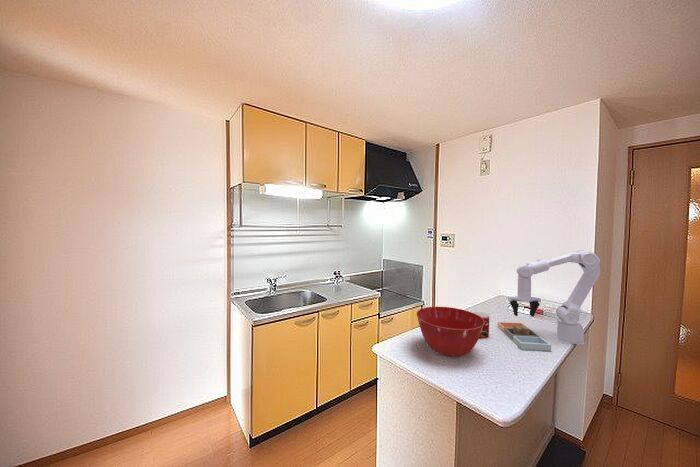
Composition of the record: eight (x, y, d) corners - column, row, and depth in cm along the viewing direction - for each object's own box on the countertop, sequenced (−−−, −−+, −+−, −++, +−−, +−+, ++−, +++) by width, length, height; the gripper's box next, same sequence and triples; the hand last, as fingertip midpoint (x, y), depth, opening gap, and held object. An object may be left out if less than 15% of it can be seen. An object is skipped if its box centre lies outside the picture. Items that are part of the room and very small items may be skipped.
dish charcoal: (530, 335, 134) (530, 329, 134) (539, 342, 126) (539, 336, 126) (504, 334, 136) (504, 328, 135) (511, 341, 127) (511, 334, 127)
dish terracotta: (521, 328, 143) (521, 323, 143) (529, 334, 135) (529, 329, 134) (497, 327, 144) (497, 321, 144) (503, 333, 136) (503, 327, 136)
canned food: (471, 337, 132) (471, 315, 131) (472, 331, 139) (472, 310, 138) (489, 340, 128) (489, 318, 128) (489, 334, 135) (489, 313, 135)
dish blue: (540, 343, 125) (540, 337, 125) (551, 351, 117) (551, 344, 117) (512, 341, 127) (512, 335, 127) (521, 349, 119) (521, 343, 118)
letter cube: (524, 335, 133) (524, 325, 133) (529, 339, 128) (529, 328, 128) (513, 334, 134) (513, 324, 134) (518, 338, 129) (518, 328, 129)
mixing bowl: (486, 344, 123) (487, 312, 123) (481, 374, 99) (482, 333, 98) (425, 332, 138) (425, 303, 137) (407, 355, 113) (408, 320, 113)
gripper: (535, 287, 137) (535, 313, 137) (505, 286, 139) (505, 312, 139) (543, 290, 130) (543, 318, 130) (511, 290, 132) (511, 317, 132)
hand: (523, 315), depth 134 cm, fingers open, 7 cm apart
